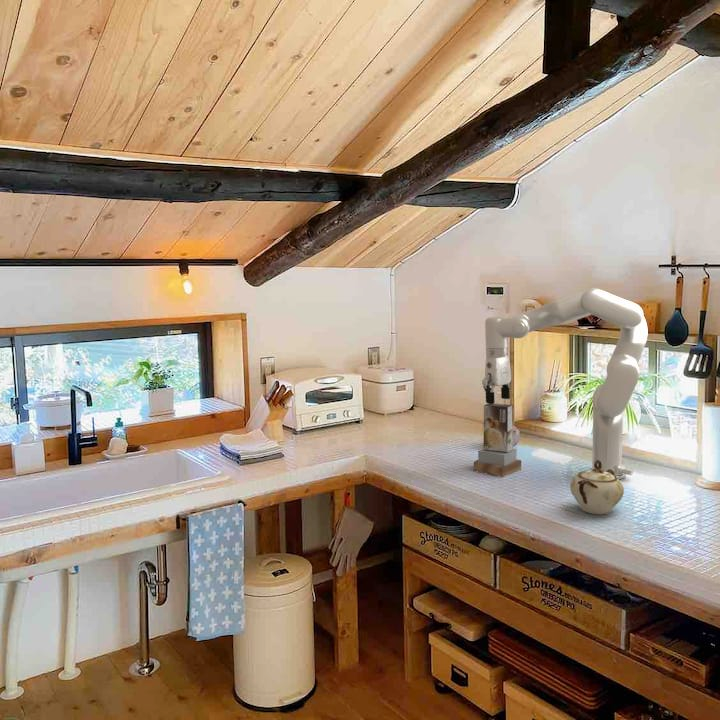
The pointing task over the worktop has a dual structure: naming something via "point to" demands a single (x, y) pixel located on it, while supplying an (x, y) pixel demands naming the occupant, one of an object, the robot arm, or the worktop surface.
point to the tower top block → (497, 457)
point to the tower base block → (497, 468)
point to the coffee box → (498, 427)
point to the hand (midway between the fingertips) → (498, 400)
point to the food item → (515, 436)
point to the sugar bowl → (597, 490)
